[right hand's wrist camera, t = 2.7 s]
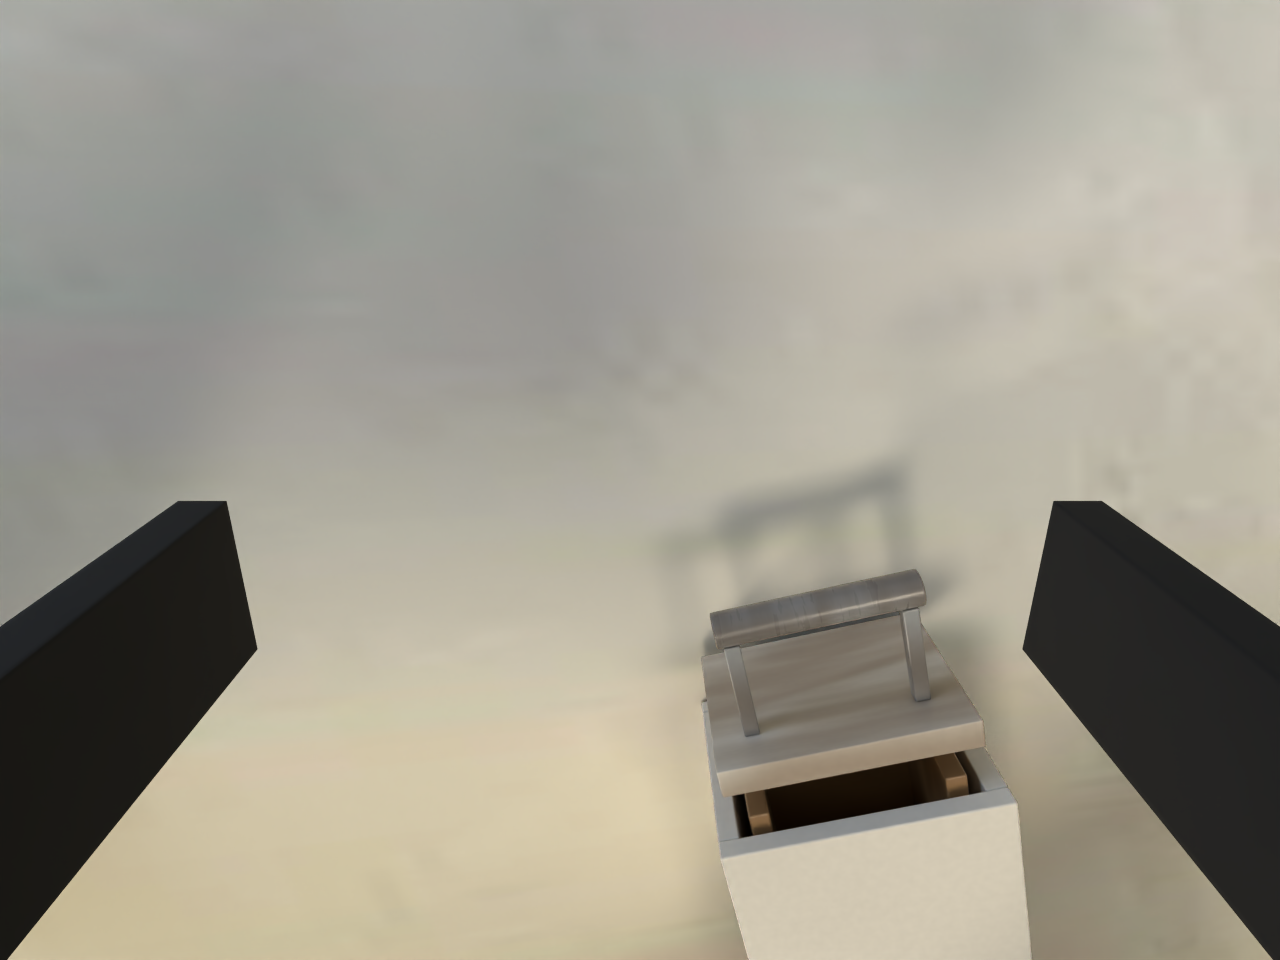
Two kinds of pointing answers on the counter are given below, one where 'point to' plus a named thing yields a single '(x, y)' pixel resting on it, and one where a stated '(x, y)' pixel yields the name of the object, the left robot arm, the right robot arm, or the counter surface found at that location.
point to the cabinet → (882, 877)
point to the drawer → (835, 706)
